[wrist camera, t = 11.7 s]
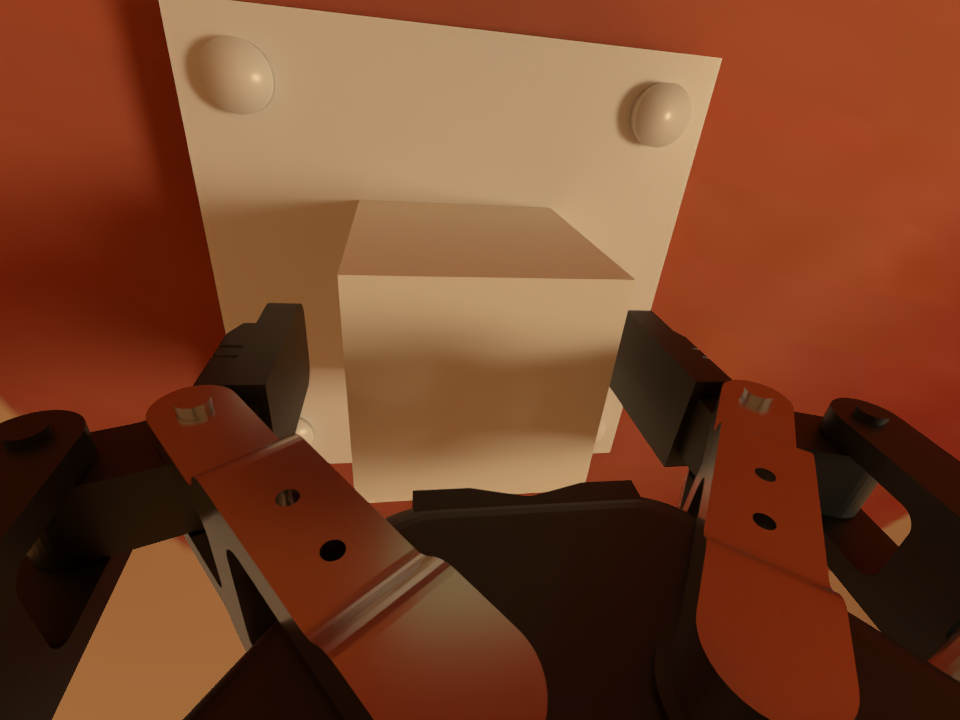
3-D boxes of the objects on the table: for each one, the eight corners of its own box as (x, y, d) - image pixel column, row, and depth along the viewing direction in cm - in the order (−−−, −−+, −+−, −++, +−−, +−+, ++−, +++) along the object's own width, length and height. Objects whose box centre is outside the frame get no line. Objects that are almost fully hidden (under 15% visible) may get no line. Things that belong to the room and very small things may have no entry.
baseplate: (177, -1, 12) (148, -12, 10) (698, 59, 14) (731, 57, 13) (260, 444, 19) (249, 474, 17) (599, 434, 21) (613, 459, 20)
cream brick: (359, 199, 13) (336, 274, 8) (550, 207, 14) (635, 280, 9) (367, 369, 16) (355, 503, 11) (527, 366, 17) (583, 489, 12)
